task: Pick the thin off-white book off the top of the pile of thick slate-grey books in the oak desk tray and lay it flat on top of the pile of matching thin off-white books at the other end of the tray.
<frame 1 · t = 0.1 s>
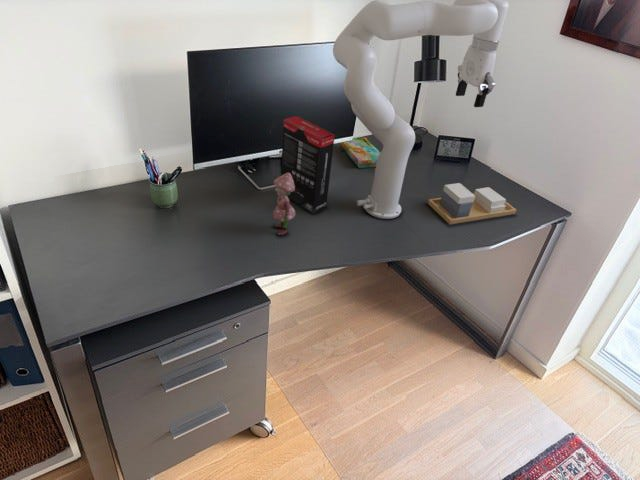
hand: (468, 101, 156), 37 cm above the table, tool pointing down, fingers open, 9 cm apart
cartoon character: (282, 231, 152), on the table
grey book 2: (455, 203, 169), point 4 cm above the table, touching grey book 1, thin white book
grey book 1: (453, 211, 170), point 1 cm above the table, touching desk tray, grey book 2
graphics card box: (302, 201, 168), on the table
thin white book: (458, 195, 167), point 7 cm above the table, touching grey book 2
white book 1: (488, 205, 176), point 1 cm above the table, touching desk tray, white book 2
desk tray: (470, 210, 173), on the table
puzzle game: (360, 157, 200), on the table
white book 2: (488, 199, 175), point 3 cm above the table, touching white book 1
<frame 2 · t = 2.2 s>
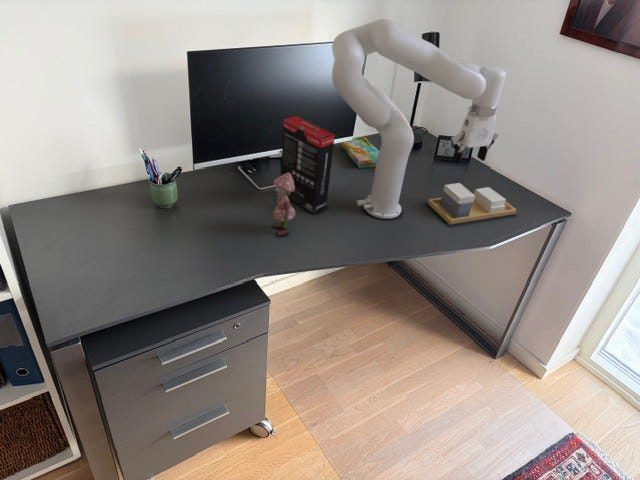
hand: (468, 160, 160), 20 cm above the table, tool pointing down, fingers open, 9 cm apart
nothing on the table moved.
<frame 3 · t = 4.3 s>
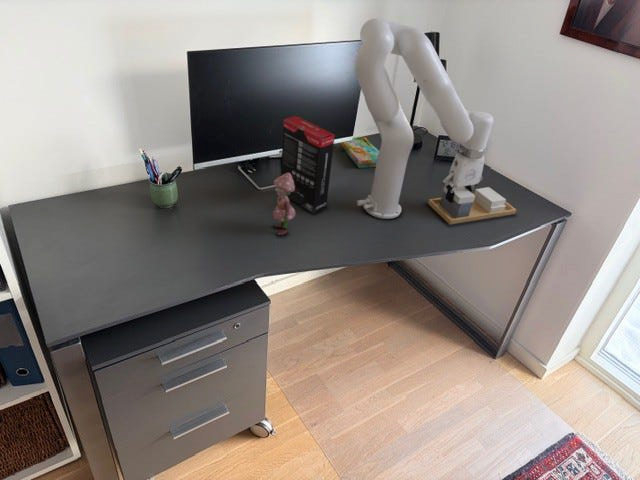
hand: (457, 199, 168), 6 cm above the table, tool pointing down, fingers closed on thin white book, 6 cm apart
thin white book: (458, 196, 167), point 7 cm above the table, touching grey book 2, gripper
everything else where it was.
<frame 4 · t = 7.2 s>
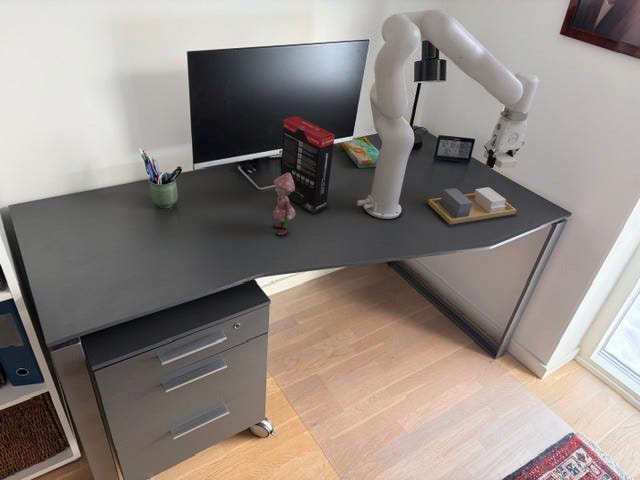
hand: (497, 165, 165), 17 cm above the table, tool pointing down, fingers closed on thin white book, 6 cm apart
grey book 2: (455, 203, 169), point 4 cm above the table, touching grey book 1
thin white book: (499, 161, 165), point 18 cm above the table, touching gripper
everything else where it was.
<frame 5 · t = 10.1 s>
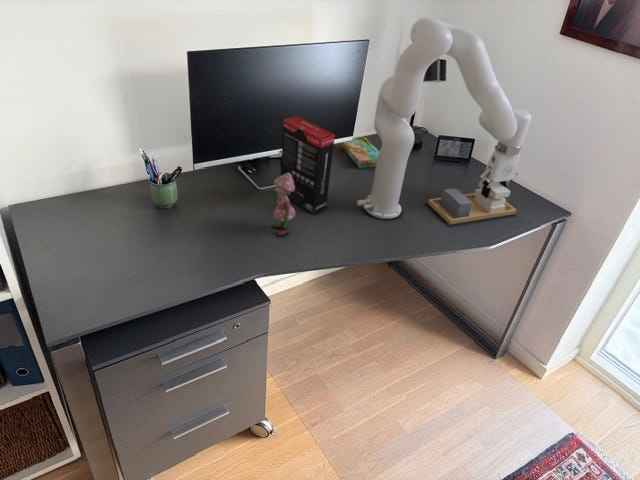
hand: (492, 194, 173), 5 cm above the table, tool pointing down, fingers closed on thin white book, 6 cm apart
thin white book: (493, 191, 172), point 7 cm above the table, touching gripper
everything else where it was.
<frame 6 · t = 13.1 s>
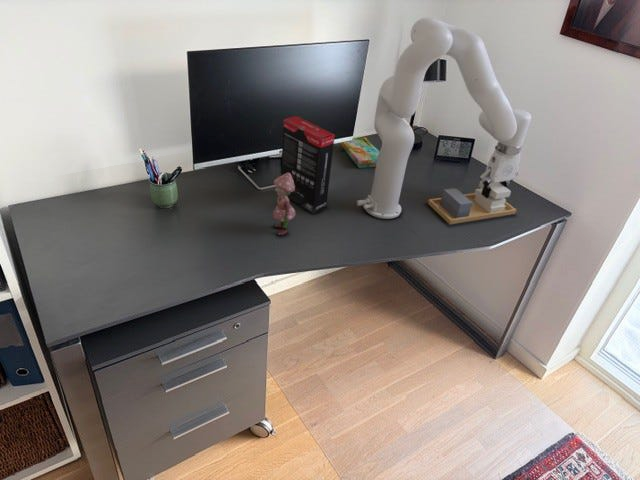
hand: (492, 194, 173), 5 cm above the table, tool pointing down, fingers closed on thin white book, 6 cm apart
thin white book: (493, 191, 172), point 7 cm above the table, touching gripper
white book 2: (488, 199, 175), point 3 cm above the table, touching gripper, white book 1
everything else where it was.
when the fingers open (6 cm above the table, at t = 15.9 s): thin white book drops 2 cm, resting on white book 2.
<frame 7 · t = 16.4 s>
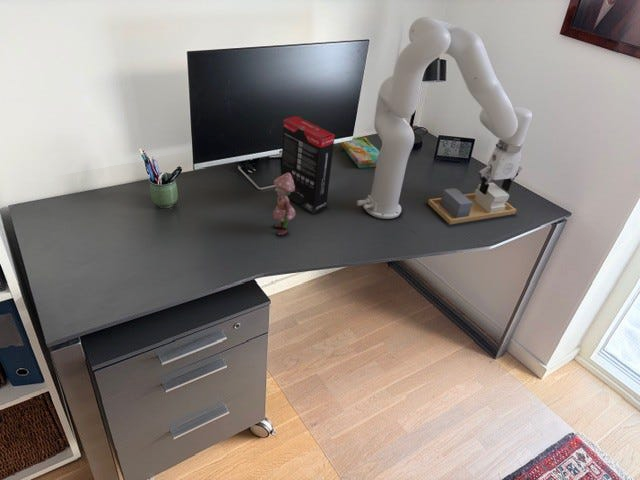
hand: (493, 190, 172), 7 cm above the table, tool pointing down, fingers open, 9 cm apart
thin white book: (492, 195, 173), point 5 cm above the table, touching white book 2
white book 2: (488, 199, 175), point 3 cm above the table, touching thin white book, white book 1
everything else where it was.
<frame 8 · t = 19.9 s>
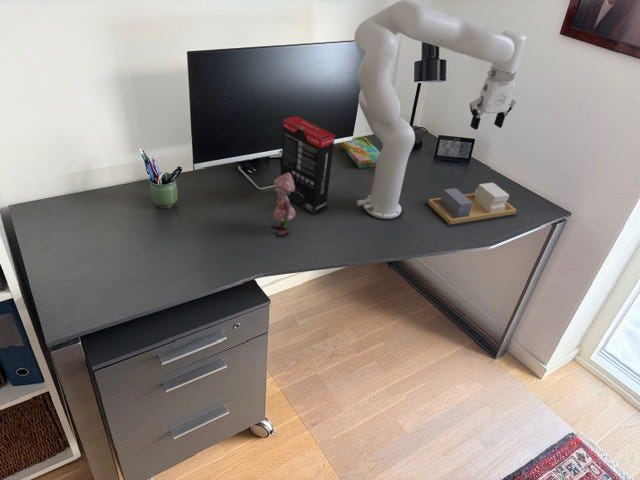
hand: (485, 127, 162), 28 cm above the table, tool pointing down, fingers open, 9 cm apart
nothing on the table moved.
at the end: thin white book 0.6 cm off-centre on the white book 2, point 2.2 cm above the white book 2's base; thin white book tilted 0°; grey book 2 moved 0.0 cm from its start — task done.
